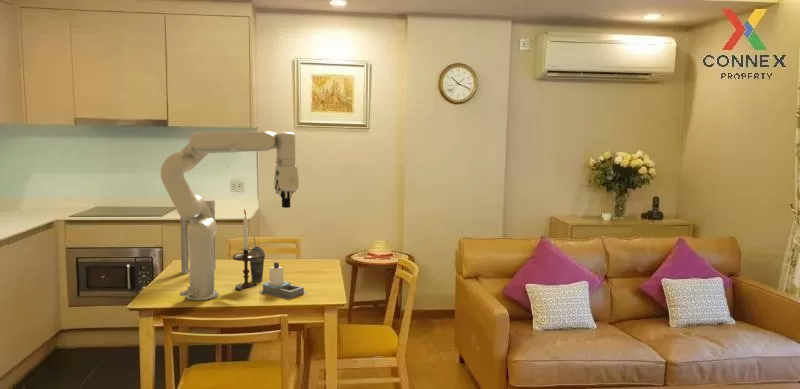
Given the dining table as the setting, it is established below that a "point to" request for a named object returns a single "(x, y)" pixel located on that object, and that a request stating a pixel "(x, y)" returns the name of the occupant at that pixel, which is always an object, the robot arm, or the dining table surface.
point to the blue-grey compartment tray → (283, 290)
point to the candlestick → (245, 257)
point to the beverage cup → (257, 264)
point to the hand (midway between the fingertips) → (286, 207)
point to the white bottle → (276, 275)
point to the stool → (184, 236)
